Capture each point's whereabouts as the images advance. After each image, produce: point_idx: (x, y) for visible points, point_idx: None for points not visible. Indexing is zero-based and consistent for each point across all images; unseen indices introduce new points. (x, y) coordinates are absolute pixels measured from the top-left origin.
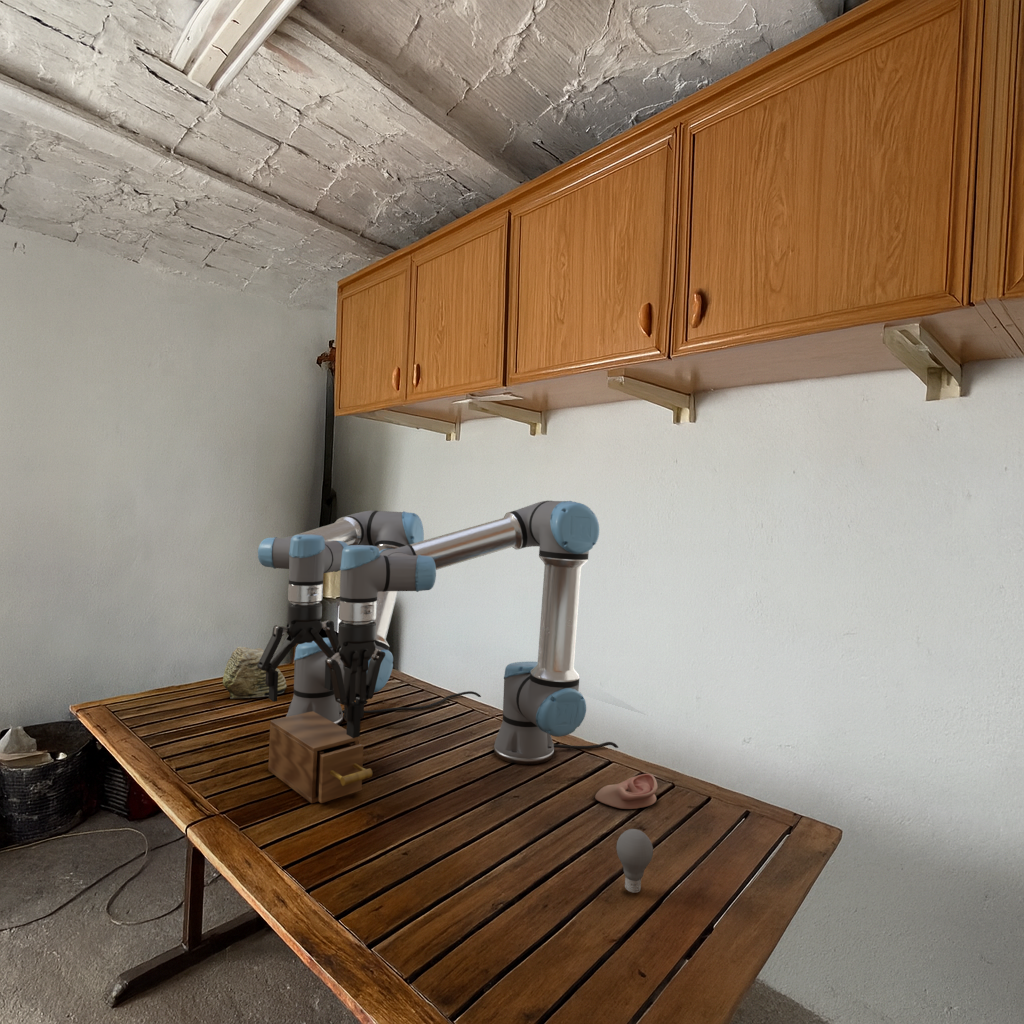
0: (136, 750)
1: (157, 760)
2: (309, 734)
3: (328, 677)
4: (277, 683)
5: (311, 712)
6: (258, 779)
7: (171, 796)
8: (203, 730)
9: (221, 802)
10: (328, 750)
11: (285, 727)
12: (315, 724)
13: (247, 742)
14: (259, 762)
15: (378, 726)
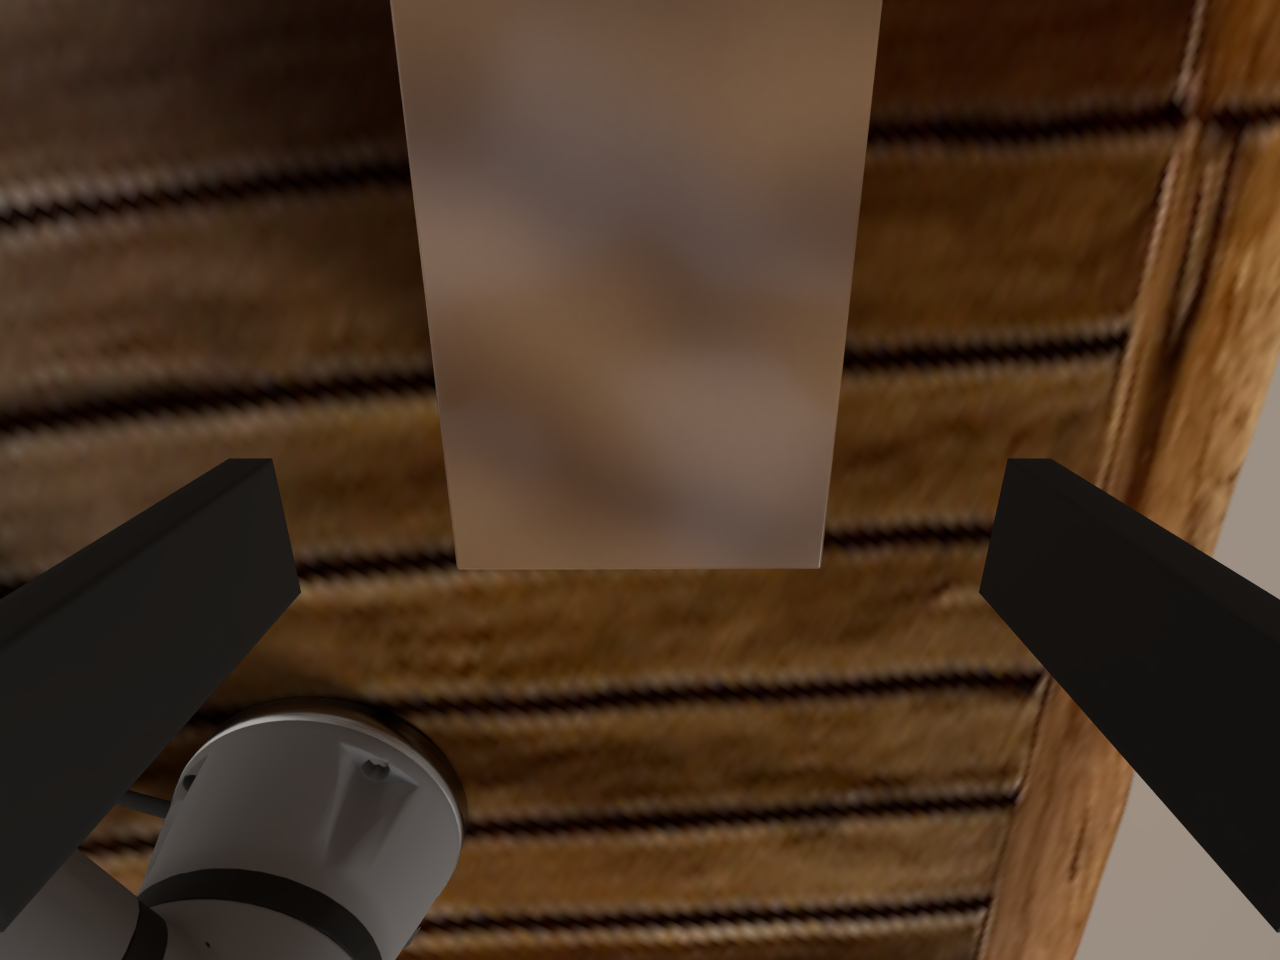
0: (1038, 906)
1: (1037, 794)
2: (745, 42)
3: (185, 593)
4: (1176, 571)
5: (480, 550)
6: (843, 375)
7: (1207, 449)
8: (763, 947)
9: (1108, 239)
10: None
11: (814, 359)
12: (577, 265)
13: (681, 767)
14: None
15: None
